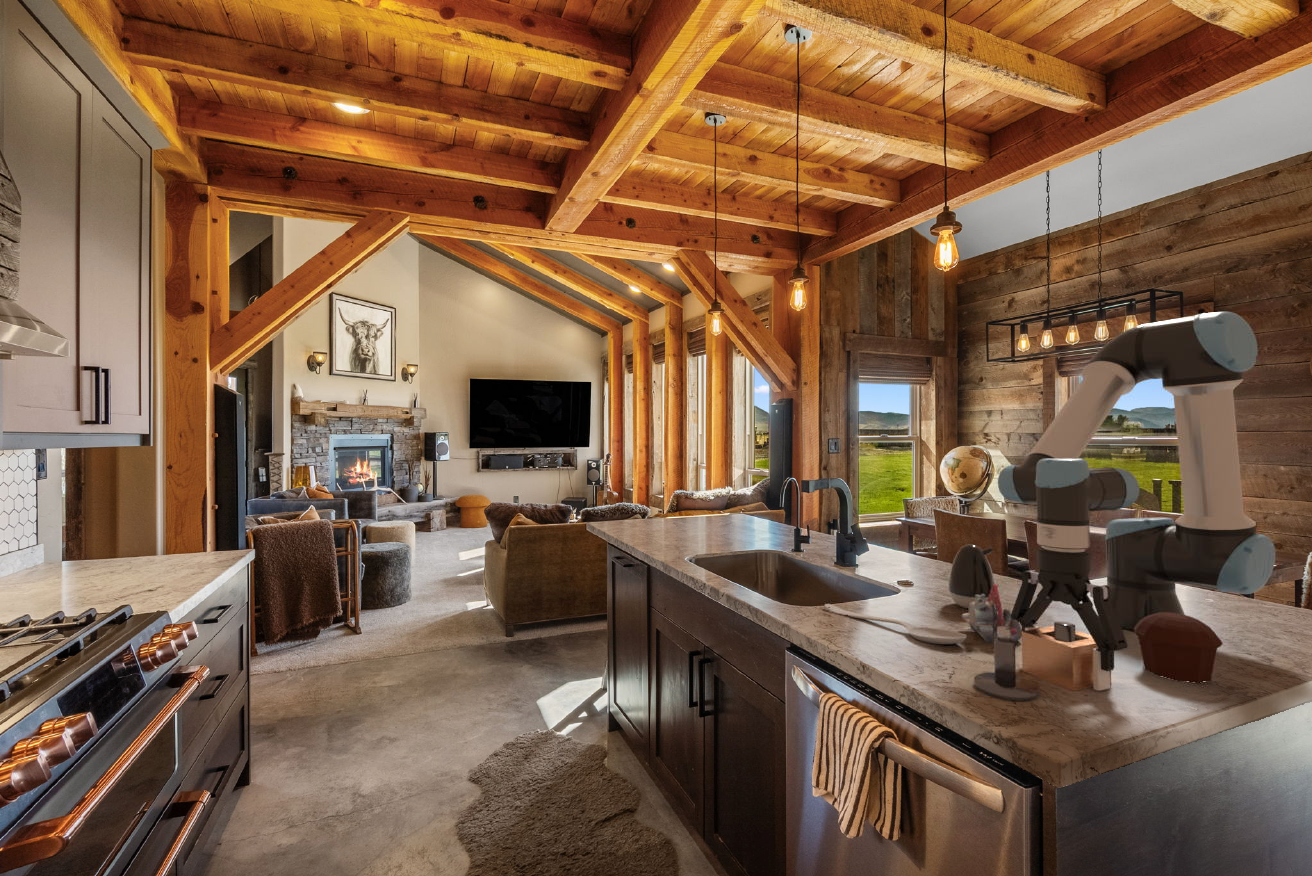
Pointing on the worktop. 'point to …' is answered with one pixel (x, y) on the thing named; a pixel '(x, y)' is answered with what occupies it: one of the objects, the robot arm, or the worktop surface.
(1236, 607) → the worktop surface
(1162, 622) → the muffin
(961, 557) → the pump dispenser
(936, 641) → the spoon
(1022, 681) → the cylinder
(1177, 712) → the worktop surface
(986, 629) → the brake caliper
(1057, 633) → the stand rod
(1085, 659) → the collar
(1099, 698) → the worktop surface
